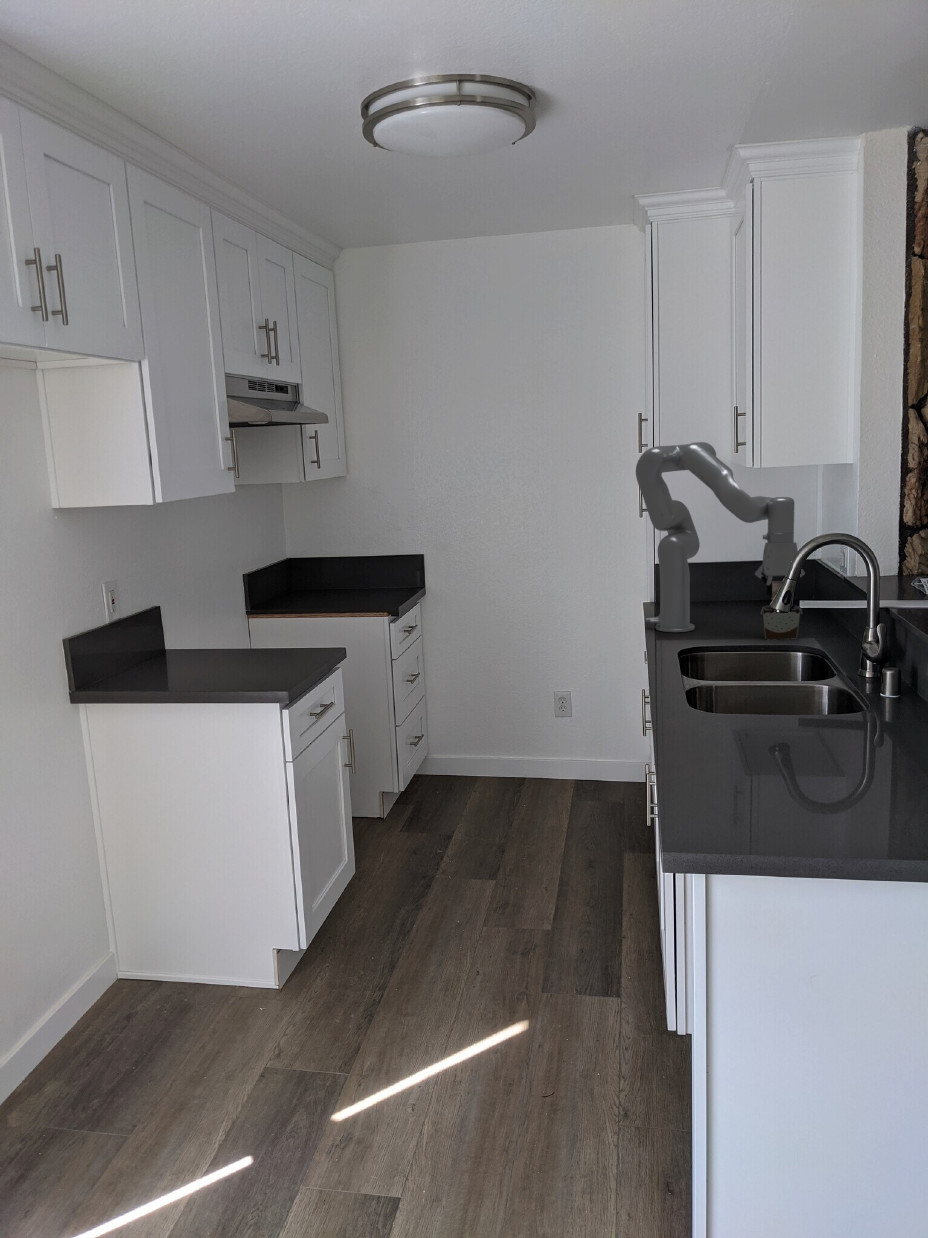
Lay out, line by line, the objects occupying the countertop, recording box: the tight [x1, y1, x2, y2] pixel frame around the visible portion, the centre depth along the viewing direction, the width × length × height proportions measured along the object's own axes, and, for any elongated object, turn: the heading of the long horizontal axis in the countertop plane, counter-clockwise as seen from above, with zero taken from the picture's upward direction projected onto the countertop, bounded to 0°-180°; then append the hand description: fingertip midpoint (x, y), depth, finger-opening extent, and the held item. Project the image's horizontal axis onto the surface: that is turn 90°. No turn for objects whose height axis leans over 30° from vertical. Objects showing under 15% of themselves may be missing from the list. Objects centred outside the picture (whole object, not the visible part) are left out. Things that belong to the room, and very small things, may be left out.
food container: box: [760, 604, 803, 640], centre depth 288 cm, size 12×6×10 cm, turn 84°
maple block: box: [770, 580, 784, 601], centre depth 286 cm, size 5×5×5 cm
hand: (779, 596), depth 287 cm, fingers closed on maple block, 5 cm apart
